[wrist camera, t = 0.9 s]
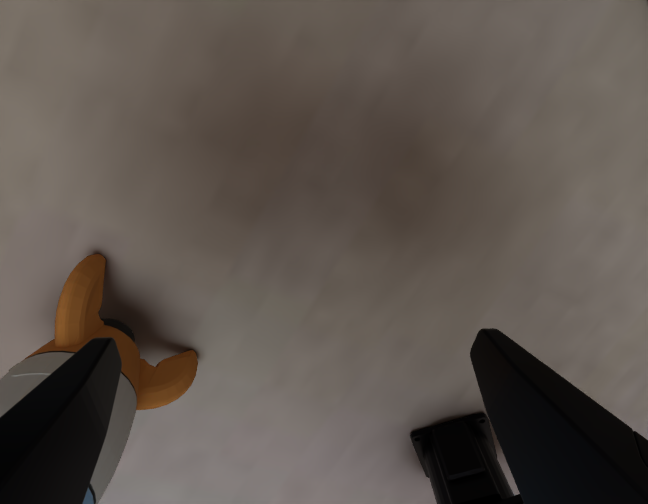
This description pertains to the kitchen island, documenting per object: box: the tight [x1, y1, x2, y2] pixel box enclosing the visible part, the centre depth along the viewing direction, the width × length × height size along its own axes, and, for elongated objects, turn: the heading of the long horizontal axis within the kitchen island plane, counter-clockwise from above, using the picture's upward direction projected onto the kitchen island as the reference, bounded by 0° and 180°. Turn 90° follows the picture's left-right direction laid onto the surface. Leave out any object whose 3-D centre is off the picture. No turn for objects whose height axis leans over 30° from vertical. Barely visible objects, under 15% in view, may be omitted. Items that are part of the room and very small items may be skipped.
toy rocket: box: [0, 254, 198, 504], centre depth 21 cm, size 10×11×15 cm
